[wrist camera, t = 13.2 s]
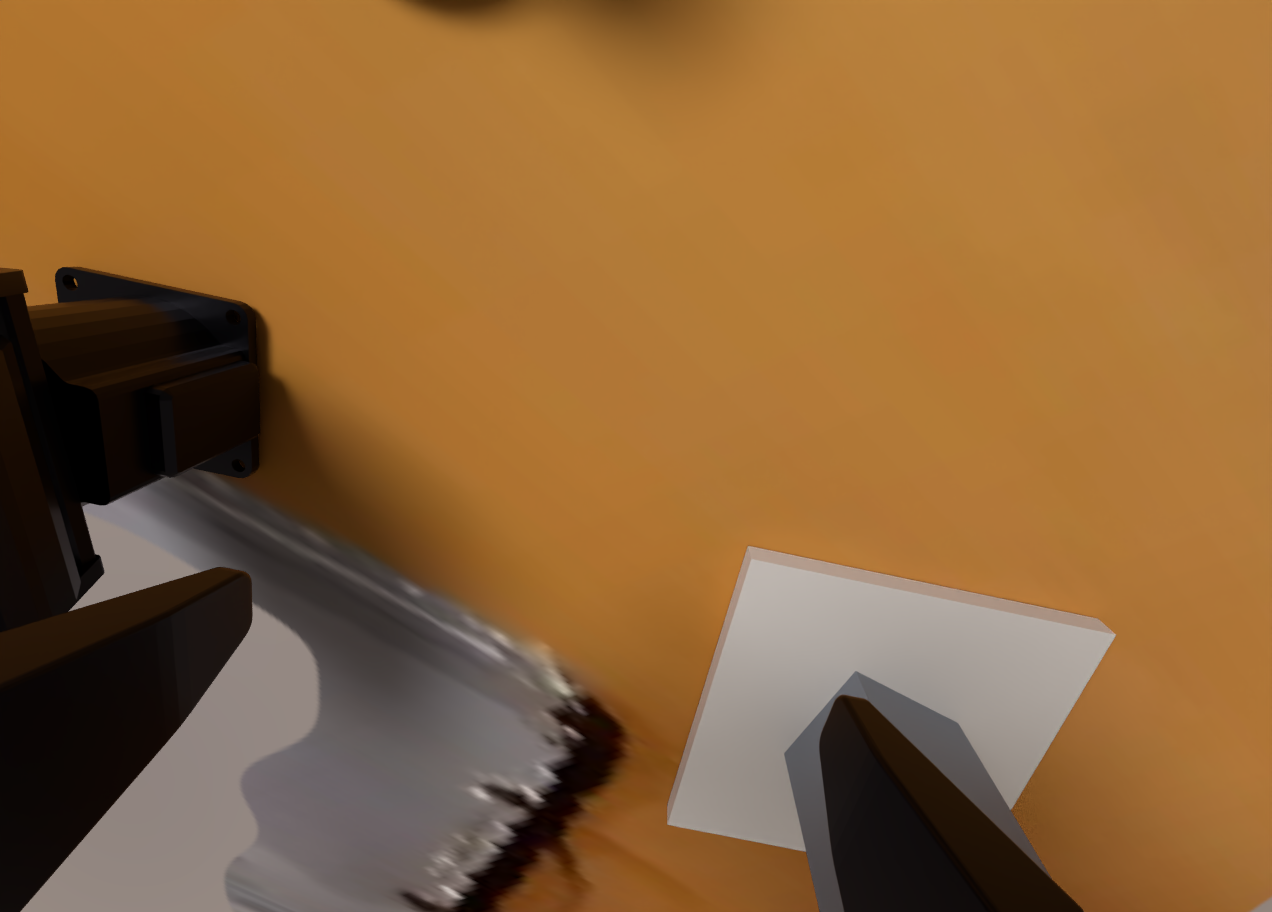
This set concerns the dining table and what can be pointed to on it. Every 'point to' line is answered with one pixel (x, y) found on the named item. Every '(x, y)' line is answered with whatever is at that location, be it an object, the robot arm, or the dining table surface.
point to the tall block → (927, 734)
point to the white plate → (882, 650)
